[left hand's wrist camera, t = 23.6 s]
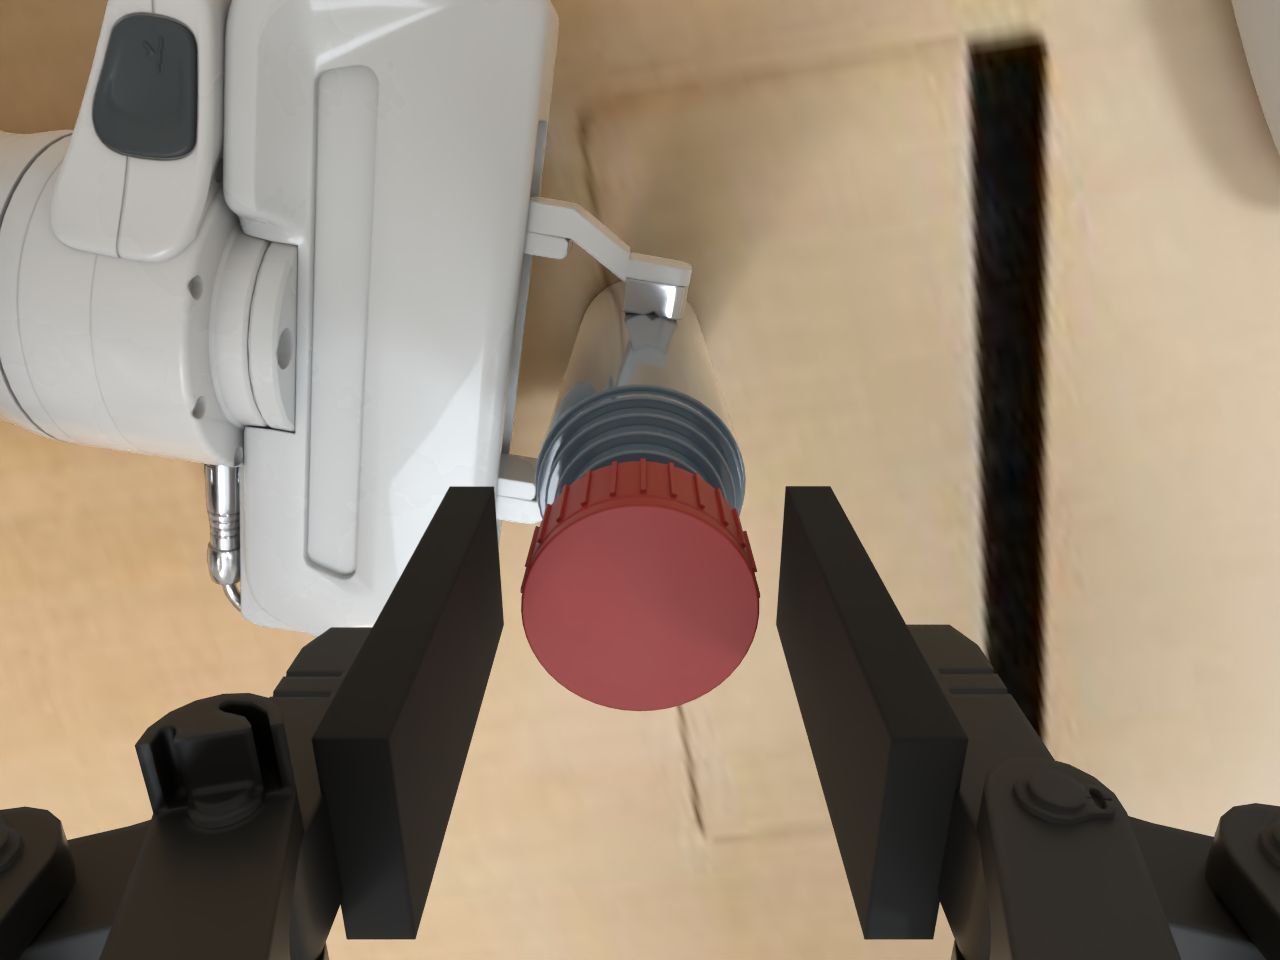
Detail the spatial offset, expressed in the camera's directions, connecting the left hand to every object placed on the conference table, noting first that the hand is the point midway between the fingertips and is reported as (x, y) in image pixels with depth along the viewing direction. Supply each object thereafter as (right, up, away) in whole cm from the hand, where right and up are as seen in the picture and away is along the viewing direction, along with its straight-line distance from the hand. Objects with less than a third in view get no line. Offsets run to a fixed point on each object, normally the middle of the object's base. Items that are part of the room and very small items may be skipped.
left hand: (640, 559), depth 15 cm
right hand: (+1, +4, +11) cm, 12 cm away
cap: (0, -1, -1) cm, 2 cm away
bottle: (0, +7, +16) cm, 18 cm away
